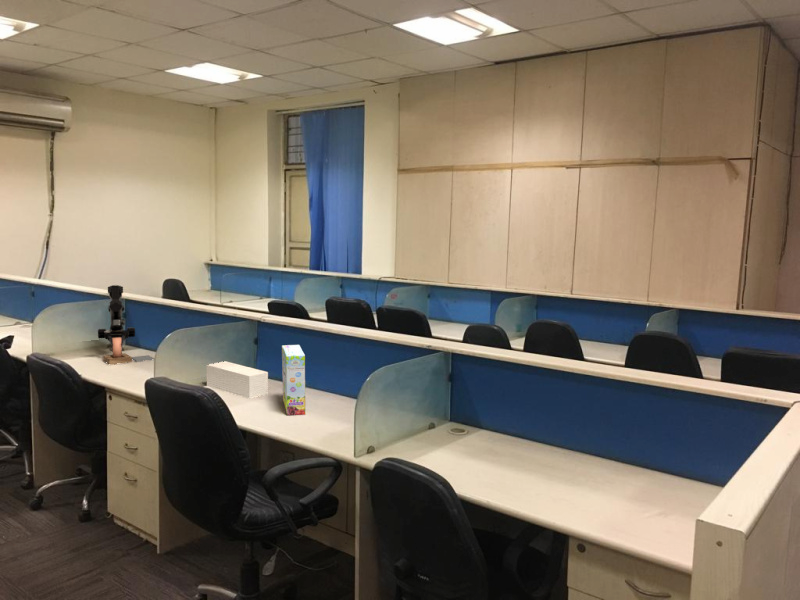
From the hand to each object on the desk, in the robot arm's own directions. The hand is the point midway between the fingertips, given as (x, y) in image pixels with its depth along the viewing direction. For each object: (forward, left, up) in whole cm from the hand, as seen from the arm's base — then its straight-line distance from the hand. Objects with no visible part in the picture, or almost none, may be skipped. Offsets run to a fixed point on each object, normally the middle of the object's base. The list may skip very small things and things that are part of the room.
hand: (117, 345), depth 345 cm
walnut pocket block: (-1, 0, -9) cm, 9 cm away
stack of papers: (+88, +27, -10) cm, 93 cm away
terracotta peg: (-1, 0, -7) cm, 7 cm away
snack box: (+128, +34, -10) cm, 132 cm away
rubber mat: (0, +13, -9) cm, 16 cm away
